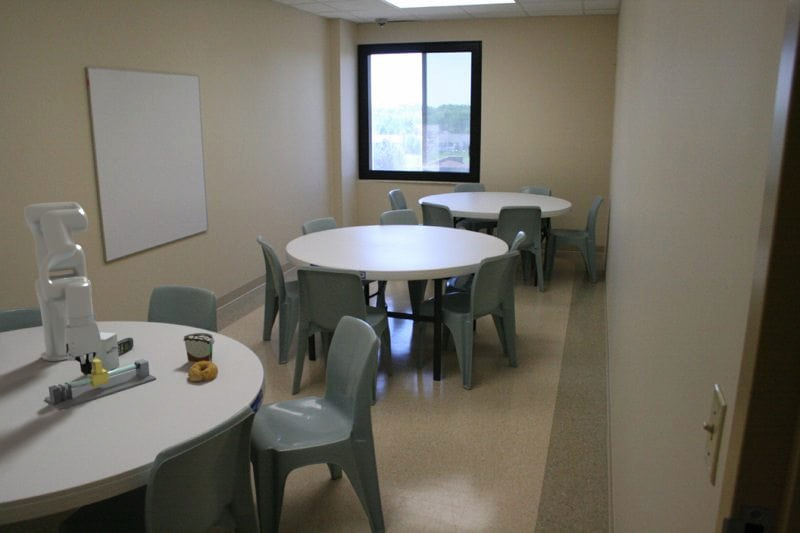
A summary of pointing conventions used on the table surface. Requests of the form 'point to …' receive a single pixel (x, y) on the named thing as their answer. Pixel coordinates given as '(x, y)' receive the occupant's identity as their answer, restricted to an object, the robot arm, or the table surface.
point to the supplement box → (108, 351)
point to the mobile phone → (125, 345)
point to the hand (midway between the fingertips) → (86, 373)
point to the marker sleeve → (98, 374)
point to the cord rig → (72, 397)
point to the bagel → (203, 371)
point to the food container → (199, 347)
